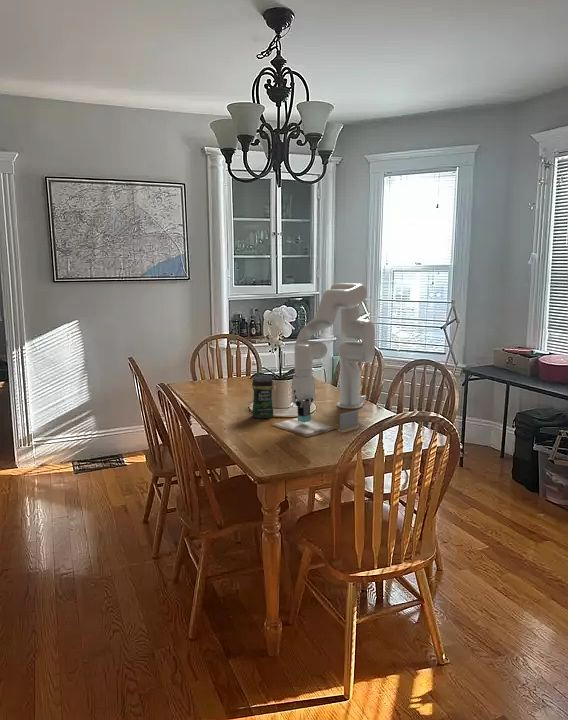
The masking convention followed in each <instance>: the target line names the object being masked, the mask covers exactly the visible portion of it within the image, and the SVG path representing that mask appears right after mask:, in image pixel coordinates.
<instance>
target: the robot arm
mask: <svg viewBox="0 0 568 720" xmlns="http://www.w3.org/2000/svg"><path fill="white" fill-rule="evenodd" d="M367 291H368V290H367V287H366V286H365V285H364V284H362V283H350V282H348V283H347V282H341V283H340V282H339V283H338V282H337V283H334V284H332V285H331V286H330V289H327V290H325V291H324V292H323V293H322V296H321V300H320V301H319V304H318V307H317V310H316V313H315V315H314V318H312V319H311V320H310V321H309V322H308V323H306V324H305V326H303V327H302V329H300V331H299V333H298V335H297V338H296V340H295V344H294V376H292V382H291V393H290V394H291V396H290V397H291V400H290V401H291V403H292V404H295V405H296V407H297V416H298V415H299V416H304V407H303V401H304V400H305V401H309V415H311V406H312V403H313V401H314V400H315V399H316V398H317V396H316V384H315V378H314V375H313V372H314V368H313V360H321V359H324V358H325V357H326V355H327V353H328V348H327V347H328V346H327V345H326V344H325V343H324V342H322V341H316V340H315V341H314V340H310V339H311V337H312V336H313V335H315V334H316V333H318V332H321V331H324V330H326V329H329V328H331V327H332V326H333V324H334V322H335V319H336V316H337V313H338V310H339V309H340V328H341V329H340V331H341V332H340V333H341V335H342V337H343V338H345V339H350V340H346V341H343V342H342V341H341V343H340V344H339V345H338V348H337V353H338V360H339V370H340V371H339V372H340V374H339V378H340V380H339V381H340V384H339V394H340V395H339V401H338V402H337V403H336V407H338V408H340V409H341V408H342V409H348V410H349V409H350V410H352V409H359V408H360V409H361V408H363V407H364V402H362V401H364V400H367V396H366V395H361V368H360V366H359V364H358V363H366V364H368V363H371V362H373V360H375V359H374V358H375V353H376V352H375V351H376V346H375V345H376V333H375V332H376V330H375V324H374V323H373V321H372V320H369V319H365V318H361V317H360V311H359V309H360V308H359V305H360V304H362V303H363V302H364V301H365V300H366V297H367V295H368V292H367ZM351 339H352V340H351ZM354 340H360V341H354ZM299 401H300V403H299Z"/></svg>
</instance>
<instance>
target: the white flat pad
mask: <svg viewBox="0 0 568 720" xmlns="http://www.w3.org/2000/svg"><path fill="white" fill-rule="evenodd" d="M271 426H272V427H276V428H279V429H281V430H284V431H287V432H290V433H292V434H295V435H298V436H301V437H304V438H306V439H307V438H310V437H311V438H312V437H314V436H315V437H316V436H318V435H321V434H326V433H329V432H333V431H336V430H337V431H338V428H337V427H335V426H332V425H328V424H326V423H324V422H319V421H316V420H313V419H311V421H308V422H300V421H298V417H296V418H295V417H294V418H290V419H286V420H282V421H278V422H275V423H271Z"/></svg>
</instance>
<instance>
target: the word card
mask: <svg viewBox="0 0 568 720" xmlns="http://www.w3.org/2000/svg"><path fill="white" fill-rule="evenodd" d="M360 427H361V426H360V425H359V410H358V409H356V410H353V411H352V410H351V411H347V412H344V413H340V414H339V428H337V432H339V433H342V434H343V433H346V432H347V433H348V432H350V431H355V430H358V429H361V428H360Z"/></svg>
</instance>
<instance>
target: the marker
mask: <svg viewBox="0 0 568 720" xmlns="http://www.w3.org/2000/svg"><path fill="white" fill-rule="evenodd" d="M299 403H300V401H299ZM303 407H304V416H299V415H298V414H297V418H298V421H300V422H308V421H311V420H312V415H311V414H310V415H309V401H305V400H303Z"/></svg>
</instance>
